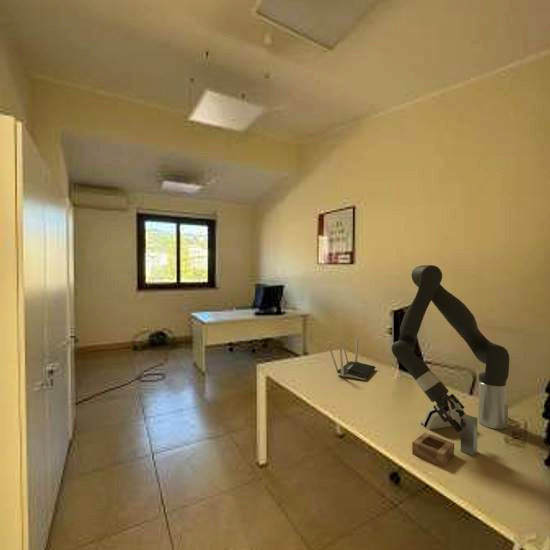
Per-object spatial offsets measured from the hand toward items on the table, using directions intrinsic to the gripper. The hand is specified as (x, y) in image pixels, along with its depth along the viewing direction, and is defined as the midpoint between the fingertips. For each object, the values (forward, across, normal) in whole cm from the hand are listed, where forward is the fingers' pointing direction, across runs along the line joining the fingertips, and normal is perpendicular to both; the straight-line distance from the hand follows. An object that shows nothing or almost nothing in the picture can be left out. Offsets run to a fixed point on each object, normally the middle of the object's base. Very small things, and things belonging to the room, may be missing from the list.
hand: (464, 426), depth 113 cm
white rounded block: (-2, +12, +14) cm, 19 cm away
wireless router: (-47, +40, +60) cm, 86 cm away
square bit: (+7, 0, +5) cm, 8 cm away
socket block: (+1, -11, +10) cm, 15 cm away
